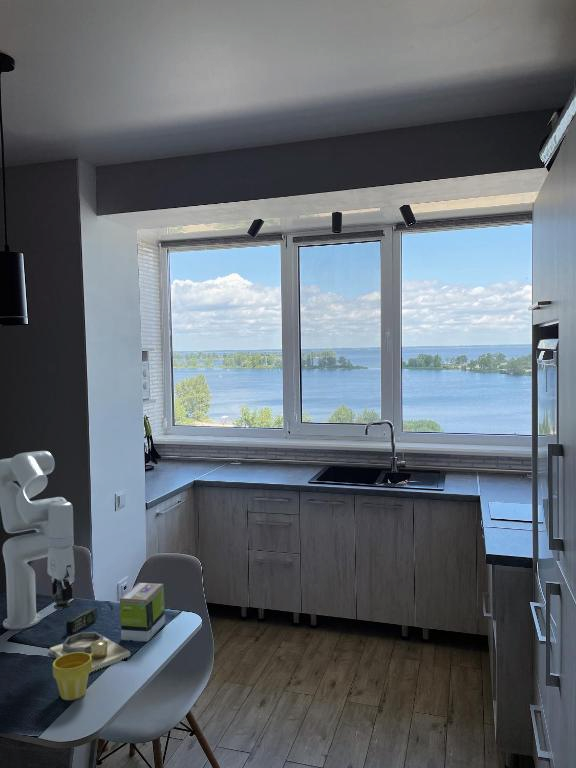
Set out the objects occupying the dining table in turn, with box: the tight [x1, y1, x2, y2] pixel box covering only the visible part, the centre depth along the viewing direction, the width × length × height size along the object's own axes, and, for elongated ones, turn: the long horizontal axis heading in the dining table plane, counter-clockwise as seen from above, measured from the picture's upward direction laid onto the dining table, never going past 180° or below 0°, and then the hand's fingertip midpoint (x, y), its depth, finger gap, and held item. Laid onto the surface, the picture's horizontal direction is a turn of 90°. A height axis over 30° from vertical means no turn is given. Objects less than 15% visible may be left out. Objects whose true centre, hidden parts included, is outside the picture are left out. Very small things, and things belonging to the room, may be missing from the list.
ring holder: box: [63, 631, 104, 653], centre depth 195 cm, size 12×12×2 cm
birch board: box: [49, 635, 131, 674], centre depth 192 cm, size 22×16×2 cm
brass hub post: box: [91, 640, 108, 660], centre depth 188 cm, size 5×5×4 cm
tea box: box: [119, 582, 166, 643], centre depth 208 cm, size 15×10×15 cm
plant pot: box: [52, 652, 92, 701], centre depth 169 cm, size 10×10×10 cm
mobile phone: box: [65, 607, 98, 635], centre depth 213 cm, size 5×3×15 cm
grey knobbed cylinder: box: [51, 576, 72, 610], centre depth 190 cm, size 6×6×12 cm
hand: (62, 596), depth 190 cm, fingers closed on grey knobbed cylinder, 5 cm apart
